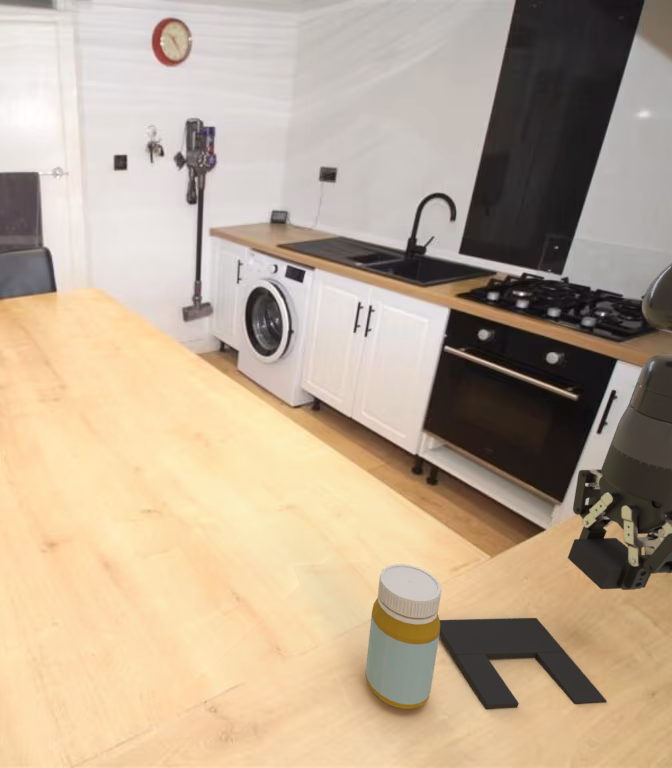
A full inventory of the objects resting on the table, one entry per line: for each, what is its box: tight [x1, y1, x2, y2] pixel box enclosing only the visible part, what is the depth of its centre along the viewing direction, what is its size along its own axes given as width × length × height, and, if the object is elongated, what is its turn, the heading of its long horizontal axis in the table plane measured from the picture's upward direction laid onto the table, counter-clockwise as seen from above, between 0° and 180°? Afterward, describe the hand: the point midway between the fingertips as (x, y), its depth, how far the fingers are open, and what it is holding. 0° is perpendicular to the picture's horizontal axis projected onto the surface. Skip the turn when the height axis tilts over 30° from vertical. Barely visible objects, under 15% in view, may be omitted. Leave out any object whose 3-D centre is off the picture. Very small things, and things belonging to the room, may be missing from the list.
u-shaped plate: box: [439, 617, 608, 710], centre depth 67 cm, size 14×12×1 cm
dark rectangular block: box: [567, 537, 652, 590], centre depth 66 cm, size 5×5×3 cm
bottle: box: [365, 563, 442, 710], centre depth 62 cm, size 7×7×15 cm
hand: (606, 569), depth 66 cm, fingers closed on dark rectangular block, 5 cm apart
